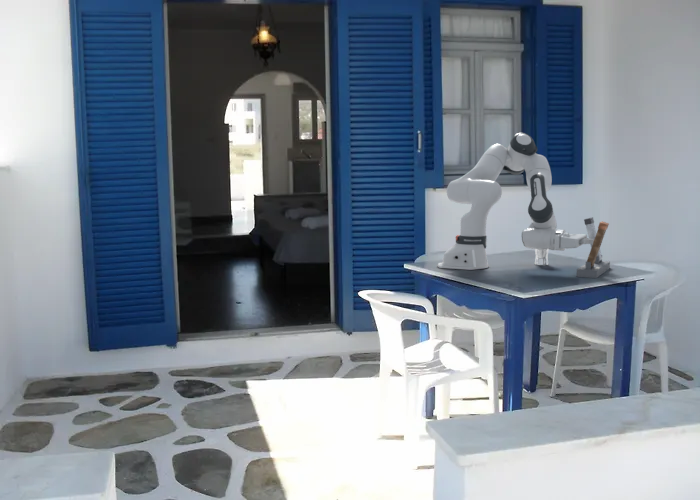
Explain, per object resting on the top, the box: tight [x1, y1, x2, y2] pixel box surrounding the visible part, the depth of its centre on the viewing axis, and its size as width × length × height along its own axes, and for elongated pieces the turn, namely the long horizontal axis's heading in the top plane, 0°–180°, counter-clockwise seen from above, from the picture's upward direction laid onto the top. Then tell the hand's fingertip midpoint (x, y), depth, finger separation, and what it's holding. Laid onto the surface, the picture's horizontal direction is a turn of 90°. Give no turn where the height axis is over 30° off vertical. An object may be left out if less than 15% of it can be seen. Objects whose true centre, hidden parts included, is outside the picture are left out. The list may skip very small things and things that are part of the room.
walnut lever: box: [586, 221, 610, 267], centre depth 307 cm, size 3×5×19 cm, turn 152°
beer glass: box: [534, 249, 550, 266], centre depth 339 cm, size 7×7×15 cm
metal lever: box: [583, 217, 603, 262], centre depth 325 cm, size 3×5×19 cm, turn 151°
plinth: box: [576, 254, 611, 279], centre depth 317 cm, size 8×30×6 cm, turn 151°
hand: (594, 241), depth 307 cm, fingers closed, pressing on walnut lever
